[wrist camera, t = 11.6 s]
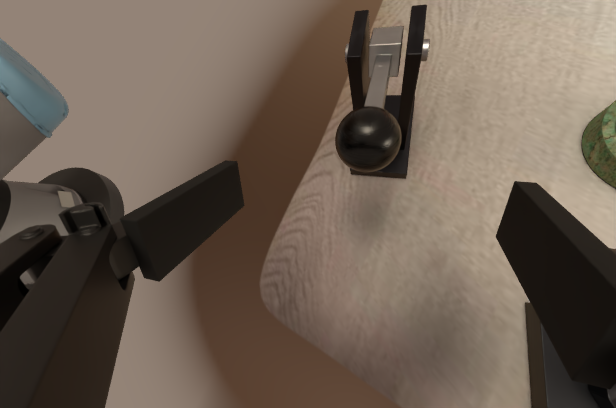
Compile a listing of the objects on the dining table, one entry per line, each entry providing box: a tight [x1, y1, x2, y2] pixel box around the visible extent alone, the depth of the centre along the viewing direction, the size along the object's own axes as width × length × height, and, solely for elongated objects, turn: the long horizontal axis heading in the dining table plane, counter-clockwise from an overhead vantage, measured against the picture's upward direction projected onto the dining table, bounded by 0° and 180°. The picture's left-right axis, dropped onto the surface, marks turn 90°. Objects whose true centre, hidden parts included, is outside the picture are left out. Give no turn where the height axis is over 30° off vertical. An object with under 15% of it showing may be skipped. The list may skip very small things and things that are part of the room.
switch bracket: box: [345, 5, 430, 178], centre depth 25 cm, size 10×6×14 cm, turn 168°
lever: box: [335, 26, 404, 172], centre depth 18 cm, size 13×4×4 cm, turn 168°
